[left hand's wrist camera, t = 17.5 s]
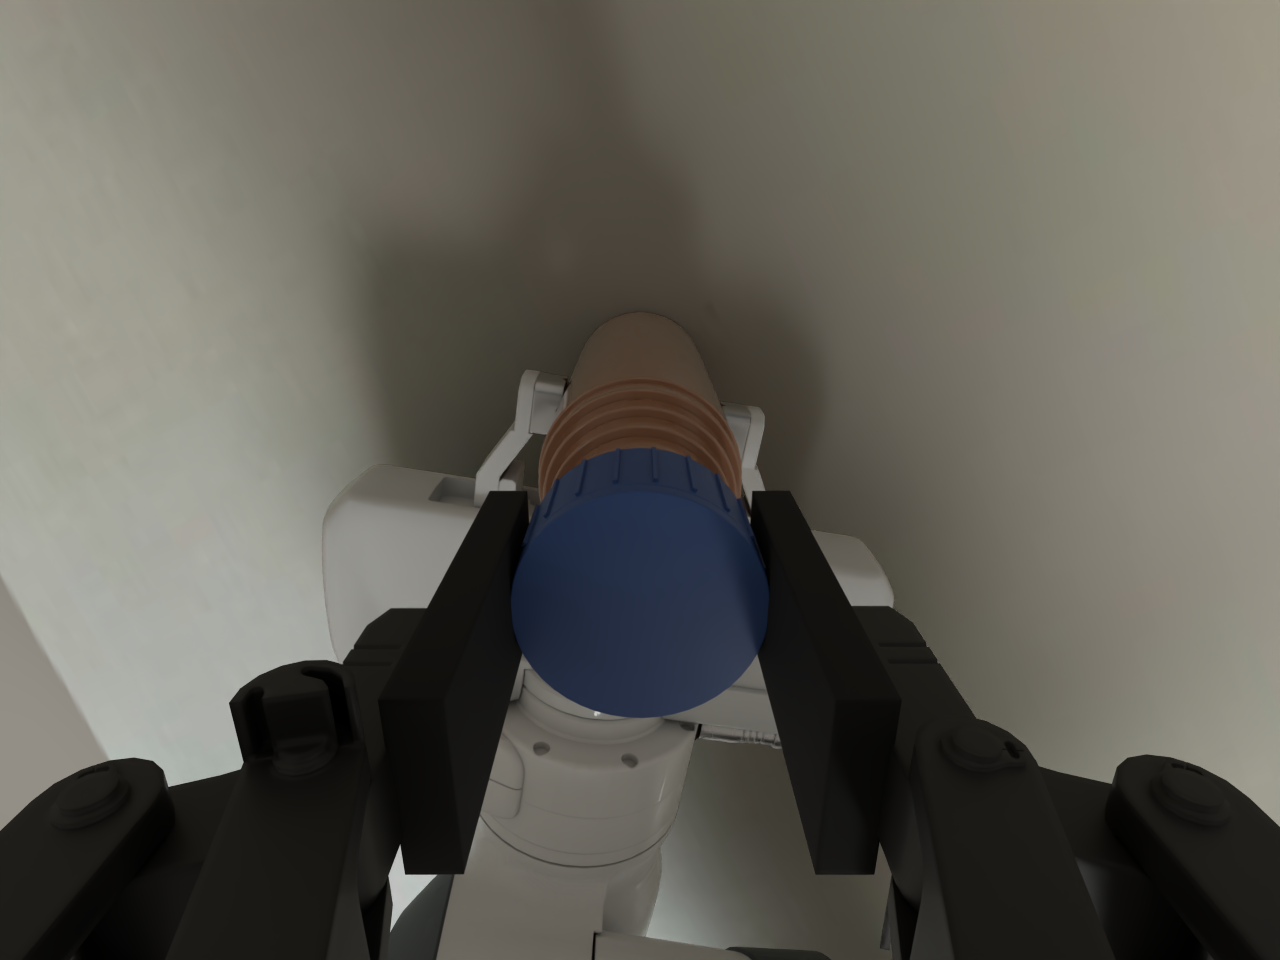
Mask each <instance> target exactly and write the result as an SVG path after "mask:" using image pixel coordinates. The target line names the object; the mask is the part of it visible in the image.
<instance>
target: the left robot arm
mask: <svg viewBox="0 0 1280 960" xmlns="http://www.w3.org/2000/svg"><path fill="white" fill-rule="evenodd" d="M528 526H529V510H528V493H527V491H489V493H488V495H487V497H486V499H485V501H484V503H483V505H482V506H481V508H480V510H479V512H478V514H477V516H476V518H475V519H474V521H473V523H472V525H471V527H470V529H469V531H468V532H467V534H466V536H465V538H464V540H463V542H462V544H461V545H460V547H459V549H458V551H457V553H456V555H455V557H454V559H453V560H452V562H451V564H450V566H449V568H448V570H447V572H446V573H445V575H444V577H443V579H442V581H441V583H440V585H439V586H438V588H437V590H436V592H435V594H434V596H433V598H432V599H431V601H430V603H429V605H428V607H427V608H390V609H389V610H388V611H386V612H385V613H383V614H382V615H381V616H379V617H378V618H376V619H375V620H374V621H372V622H371V623H369V624H368V625H367V626H366V627H365V629H364V630H363V632H362V634H361V635H360V637H359V638H358V640H357V641H356V643H355V644H354V649H351V650H350V652H349V653H348V655H347V656H346V658H345V659H344V661H343V664H339V663H336V662H332V661H328V660H310V661H301V662H297V663H292V664H288V665H283V666H280V667H278V668H275V669H273V670H271V671H268V672H266V673H264V674H261V675H259V676H258V677H256V678H255V679H253V680H252V681H250V682H249V683H248V684H246V685H245V686H243V687H242V688H240V690H239V691H238V692H237V693H236V695H235V696H234V697H233V699H232V700H231V701H230V702H229V705H230V709H231V713H232V717H233V721H234V725H235V729H236V733H237V737H238V741H239V745H240V749H241V753H242V757H243V761H244V763H243V765H242V768H241V769H240V770H237V771H233V772H230V773H227V774H223V775H220V776H215V777H211V778H206V779H202V780H198V781H193V782H189V783H184V784H180V785H175V786H171V787H168V784H167V781H166V778H165V774H164V771H163V770H162V769H161V768H160V767H159V766H158V765H157V764H156V763H154V762H153V761H150V760H145V759H139V758H127V759H119V760H110V761H107V762H103V763H101V764H97V765H94V766H91V767H88V768H85V769H82V770H80V771H78V772H76V773H74V774H72V775H70V776H68V777H66V778H64V779H62V780H61V781H59V782H57V783H55V784H53V785H52V786H51V787H49V788H48V789H47V790H46V791H44V792H43V793H42V794H40V795H39V796H38V797H36V798H35V799H34V800H32V801H31V802H30V803H29V804H28V805H27V806H26V807H25V808H24V809H23V810H22V811H21V812H20V813H19V814H18V815H17V816H15V817H14V818H13V819H12V820H11V821H10V822H9V823H8V824H7V825H6V826H5V827H4V828H3V829H2V830H1V831H0V960H387V956H388V946H389V936H390V927H391V917H392V907H393V903H392V896H391V889H390V883H389V877H388V875H389V872H390V870H391V867H392V864H393V862H394V859H395V856H396V854H397V851H398V848H399V846H400V845H401V851H402V857H403V864H404V870H405V875H443V874H464V872H465V869H466V865H467V861H468V857H469V854H470V850H471V846H472V842H473V838H474V835H475V831H476V827H477V823H478V820H479V816H480V812H481V808H482V805H483V801H484V797H485V793H486V789H487V786H488V782H489V778H490V774H491V771H492V767H493V763H494V759H495V755H496V752H497V748H498V744H499V740H500V737H501V733H502V729H503V725H504V721H505V718H506V714H507V710H508V706H509V703H510V699H511V695H512V691H513V688H514V684H515V680H516V676H517V672H518V669H519V665H520V661H521V657H522V654H523V653H522V651H521V649H520V647H519V645H518V643H517V640H516V637H515V634H514V631H513V624H512V612H511V586H512V581H513V578H514V574H515V571H516V567H517V565H518V562H519V559H520V556H521V553H522V550H523V546H521V545H522V543H523V540H524V537H525V534H526V531H527V528H528ZM750 526H751V527H752V530H753V533H754V535H755V538H756V541H757V544H758V547H759V549H760V552H761V555H762V558H763V561H764V564H765V566H766V572H765V573H766V576H767V579H768V584H769V605H768V619H767V631H766V635H765V639H764V641H763V643H762V645H761V648H760V650H759V652H758V654H757V655H758V659H759V663H760V667H761V670H762V674H763V678H764V682H765V686H766V689H767V693H768V697H769V701H770V704H771V708H772V712H773V716H774V719H775V723H776V727H777V731H778V735H779V738H780V742H781V746H782V750H783V753H784V757H785V761H786V765H787V769H788V772H789V776H790V780H791V784H792V787H793V791H794V795H795V799H796V803H797V806H798V810H799V814H800V818H801V821H802V825H803V829H804V833H805V837H806V840H807V844H808V848H809V852H810V855H811V859H812V863H813V867H814V870H815V874H816V875H874V873H875V867H876V861H877V854H878V848H879V842H880V844H881V846H882V849H883V851H884V854H885V857H886V859H887V862H888V865H889V867H890V870H891V872H892V877H891V883H890V889H889V895H888V901H887V907H886V913H885V918H884V924H883V930H882V937H881V944H880V948H881V949H886V950H889V949H890V943H891V945H892V955H893V960H1280V827H1279V826H1278V825H1277V824H1276V823H1275V822H1274V821H1273V820H1272V819H1271V818H1270V817H1269V816H1268V815H1267V814H1266V813H1264V812H1263V811H1262V810H1261V809H1260V808H1259V807H1258V806H1257V805H1256V804H1255V803H1254V802H1253V801H1252V800H1251V799H1250V798H1249V797H1247V796H1246V795H1245V794H1243V793H1242V792H1241V791H1239V790H1238V789H1237V788H1235V787H1234V786H1233V785H1231V784H1230V783H1229V782H1228V781H1226V780H1224V779H1222V778H1220V777H1218V776H1217V775H1215V774H1213V773H1211V772H1209V771H1207V770H1205V769H1203V768H1201V767H1199V766H1196V765H1193V764H1190V763H1188V762H1184V761H1181V760H1177V759H1174V758H1171V757H1163V756H1155V755H1141V756H1135V757H1129V758H1127V759H1126V760H1125V761H1123V762H1122V763H1121V764H1120V765H1119V766H1118V767H1117V769H1116V772H1115V776H1114V779H1113V782H1112V784H1109V783H1105V782H1100V781H1096V780H1091V779H1087V778H1082V777H1078V776H1073V775H1069V774H1064V773H1060V772H1056V771H1053V770H1050V769H1046V768H1043V767H1039V766H1038V764H1037V762H1036V760H1035V759H1034V757H1033V756H1032V754H1031V753H1030V751H1029V750H1028V748H1027V747H1026V746H1025V745H1024V744H1023V743H1022V742H1020V741H1019V740H1018V739H1017V738H1015V737H1014V736H1013V735H1012V734H1010V733H1009V732H1008V731H1006V730H1004V729H1001V728H999V727H997V726H995V725H993V724H991V723H989V722H987V721H983V720H979V719H976V717H975V716H974V714H973V713H972V711H971V710H970V708H969V707H968V705H967V704H966V702H965V701H964V699H963V698H962V696H961V695H960V693H959V692H958V690H957V689H956V687H955V686H954V684H953V683H952V681H951V680H950V678H949V677H948V675H947V674H946V672H945V671H944V669H943V668H942V666H941V665H940V664H938V663H937V659H936V657H935V656H934V654H933V652H932V651H931V649H930V648H929V647H926V642H925V640H924V639H923V637H922V636H921V634H920V633H919V631H918V630H917V628H916V627H915V625H914V624H913V623H912V622H911V621H909V620H908V619H907V618H905V617H904V616H902V615H901V614H900V613H898V612H897V611H895V610H894V609H893V608H891V607H890V606H851V604H850V602H849V600H848V599H847V597H846V595H845V593H844V591H843V589H842V587H841V586H840V584H839V582H838V580H837V578H836V576H835V574H834V573H833V571H832V569H831V567H830V565H829V563H828V561H827V559H826V558H825V556H824V554H823V552H822V550H821V548H820V546H819V545H818V543H817V541H816V539H815V537H814V535H813V533H812V532H811V530H810V528H809V526H808V524H807V522H806V520H805V519H804V517H803V515H802V513H801V511H800V509H799V507H798V505H797V504H796V502H795V500H794V498H793V496H792V494H791V492H790V491H752V501H751V518H750Z"/></svg>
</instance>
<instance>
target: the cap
mask: <svg viewBox="0 0 1280 960" xmlns="http://www.w3.org/2000/svg"><path fill="white" fill-rule="evenodd" d="M521 546H523V550H522V553H521V556H520V559H519V562H518V565H517V567H516V571H515V574H514V578H513V581H512V586H511V612H512V624H513V631H514V634H515V637H516V640H517V643H518V645H519V647H520V649H521V651H522V653H523V655H524V657H525V658H526V660H527V661H528V662H529V664H530V665H531V667H532V668H533V670H534V671H535V672H536V673H537V674H538V675H539V676H540V677H541V679H542V680H543V681H545V682H546V683H547V684H548V685H549V686H550V687H551V688H553V689H554V690H555V691H557V692H558V693H560V694H561V695H563V696H564V697H566V698H567V699H569V700H571V701H573V702H575V703H577V704H579V705H581V706H583V707H586V708H588V709H591V710H594V711H597V712H600V713H604V714H608V715H613V716H620V717H627V718H651V717H661V716H667V715H672V714H676V713H680V712H683V711H687V710H690V709H692V708H695V707H697V706H699V705H702V704H704V703H706V702H708V701H709V700H711V699H713V698H715V697H717V696H718V695H719V694H721V693H722V692H724V691H725V690H726V689H728V688H729V687H730V686H731V685H732V684H733V683H735V682H736V681H737V680H738V679H739V678H740V677H741V676H742V675H743V673H744V672H745V671H746V670H747V669H748V667H749V666H750V665H751V663H752V662H753V660H754V659H755V657H756V655H757V654H758V652H759V650H760V648H761V645H762V643H763V641H764V639H765V635H766V631H767V619H768V605H769V584H768V579H767V576H766V573H765V572H766V566H765V564H764V561H763V558H762V555H761V552H760V549H759V547H758V544H757V541H756V538H755V535H754V533H753V530H752V527H751V526H750V523H749V520H748V517H747V514H746V511H745V509H744V506H743V503H742V500H741V499H740V498H738V499H737V498H736V496H735V495H734V493H733V492H732V491H731V489H730V488H729V487H728V486H727V485H726V484H725V483H724V482H723V481H722V479H721V476H720V475H719V474H718V473H717V474H714V473H713V472H712V471H711V470H709V469H708V468H706V467H705V466H703V465H701V464H700V463H698V462H696V461H694V460H692V459H691V457H690V456H688V455H687V456H686V457H685V456H683V455H680V454H676V453H673V452H670V451H665V450H659V449H656V447H652V448H630V449H621V450H620V448H616V451H611V452H607V453H604V454H601V455H598V456H595V457H593V458H591V459H588V460H586V459H584V460H582V463H580V464H579V465H577V466H576V467H574V468H573V469H571V470H570V471H568V472H567V473H566V474H565V475H564V476H562V477H561V478H560V479H558V478H556V479H555V480H554V483H553V486H552V488H551V489H550V490H549V491H548V492H547V494H546V495H545V497H544V498H543V500H542V501H541V503H540V505H537V504H536V506H535V509H534V512H533V514H532V517H531V520H530V523H529V526H528V528H527V531H526V534H525V537H524V540H523V543H522V545H521Z"/></svg>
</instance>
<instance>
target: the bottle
mask: <svg viewBox="0 0 1280 960" xmlns="http://www.w3.org/2000/svg"><path fill="white" fill-rule="evenodd" d="M652 447H656V449H659V450H665V451H670V452H673V453H676V454H680V455H683V456H685V457H686V456H687V455H688V456H690V457H691V459H692V460H694V461H696V462H698V463H700V464H701V465H703V466H705V467H706V468H708V469H709V470H711V471H712V472H713V473H714V474H717V473H718V474H719V475H720V476H721V479H722V481H723V482H724V483H725V484H726V485H727V486H728V487H729V488H730V489H731V491H732V492H733V493H734V495H735V496H736V498H737V499H738V498H741V490H742V467H741V457H740V453H739V448H738V445H737V442H736V440H735V437H734V434H733V432H732V430H731V427H730V425H729V423H728V420H727V418H726V415H725V413H724V411H723V408H722V406H721V404H720V401H719V399H718V396H717V394H716V392H715V389H714V387H713V385H712V382H711V380H710V377H709V375H708V373H707V370H706V368H705V366H704V363H703V361H702V358H701V356H700V354H699V351H698V349H697V347H696V345H695V343H694V341H693V340H692V339H691V337H690V336H689V335H688V333H687V332H686V331H685V330H684V329H683V328H681V327H680V326H679V325H678V324H676V323H675V322H673V321H671V320H670V319H668V318H666V317H663V316H661V315H657V314H653V313H647V312H633V313H627V314H623V315H619V316H617V317H615V318H612V319H610V320H609V321H607V322H605V323H604V324H602V325H601V326H600V327H599V328H597V330H596V331H595V332H594V333H593V334H592V335H591V336H590V337H589V339H588V340H587V342H586V344H585V345H584V347H583V349H582V352H581V354H580V356H579V359H578V361H577V364H576V366H575V368H574V371H573V373H572V376H571V378H570V380H569V383H568V385H567V387H566V390H565V392H564V395H563V397H562V399H561V402H560V404H559V407H558V409H557V411H556V414H555V416H554V418H553V421H552V423H551V426H550V428H549V430H548V433H547V435H546V438H545V440H544V443H543V446H542V450H541V454H540V459H539V470H538V472H539V480H538V485H539V497H540V502H541V501H542V500H543V498H544V497H545V495H546V494H547V492H548V491H549V490H550V489H551V488H552V486H553V483H554V480H555V479H556V478H558V479H560V478H561V477H562V476H564V475H565V474H566V473H567V472H568V471H570V470H571V469H573V468H574V467H576V466H577V465H579V464H580V463H582V460H584V459H586V460H588V459H591V458H593V457H595V456H598V455H601V454H604V453H607V452H611V451H616V448H620V450H621V449H630V448H652Z"/></svg>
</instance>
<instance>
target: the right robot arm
mask: <svg viewBox="0 0 1280 960" xmlns="http://www.w3.org/2000/svg"><path fill="white" fill-rule="evenodd" d="M567 385H568V377H567V376H562V375H556V374H551V373H545V372H540V371H534V370H526V371H525V372H524V373H523V375H522V377H521V381H520V386H519V390H518V399H517V409H516V418H515V421H514V423H513V424H512V425H511V426H510V428H509V429H508V430H507V432H506V433H505V434H504V435H503V437H502V438H501V439H500V440H499V442H498V443H497V444H496V446H495V447H494V448H493V449H492V451H491V452H490V453H489V455H488V456H487V458H486V459H485V461H484V463H483V464H482V466H481V467H480V469H479V470H478V472H477V474H476V478H470V477H463V476H457V475H450V474H444V473H437V472H431V471H424V470H418V469H411V468H405V467H399V466H392V465H385V464H379V465H375V466H372V467H371V468H369V469H368V470H366V471H365V472H364V473H362V474H361V475H360V476H358V477H357V478H356V479H355V480H353V481H352V482H351V483H350V484H348V485H347V486H346V487H345V488H344V489H343V490H342V491H341V492H340V493H339V495H338V496H337V497H336V498H335V499H334V500H333V501H332V503H331V504H330V506H329V507H328V509H327V512H326V514H325V517H324V521H323V529H322V566H323V583H324V594H325V604H326V612H327V619H328V626H329V632H330V638H331V642H332V646H333V649H334V652H335V655H336V657H337V660H338V662H339V663H340V664H343V661H344V659H345V658H346V656H347V655H348V653H349V652H350V650H351V649H354V644H355V643H356V641H357V640H358V638H359V637H360V635H361V634H362V632H363V630H364V629H365V627H366V626H367V625H368V624H369V623H371V622H372V621H374V620H375V619H376V618H378V617H379V616H381V615H382V614H383V613H385V612H386V611H388V610H389V609H390V608H427V607H428V605H429V603H430V601H431V599H432V598H433V596H434V594H435V592H436V590H437V588H438V586H439V585H440V583H441V581H442V579H443V577H444V575H445V573H446V572H447V570H448V568H449V566H450V564H451V562H452V560H453V559H454V557H455V555H456V553H457V551H458V549H459V547H460V545H461V544H462V542H463V540H464V538H465V536H466V534H467V532H468V531H469V529H470V527H471V525H472V523H473V521H474V519H475V518H476V516H477V514H478V512H479V510H480V508H481V506H482V505H483V503H484V501H485V499H486V497H487V495H488V493H489V491H527V493H528V510H529V523H530V520H531V517H532V514H533V512H534V509H535V506H536V504H537V505H540V503H541V502H540V497H539V488H535V487H528V486H523V482H524V472H525V463H524V461H523V460H517V459H514V458H515V457H516V455H517V454H518V453H519V452H520V450H521V449H522V448H523V447H524V445H525V444H526V443H527V441H528V440H529V439H530V438H531V436H532V435H533V433H535V434H543V435H547V433H548V430H549V428H550V426H551V423H552V421H553V418H554V416H555V414H556V411H557V409H558V407H559V404H560V402H561V399H562V397H563V395H564V392H565V390H566V387H567ZM720 404H721V406H722V408H723V411H724V413H725V415H726V418H727V420H728V423H729V425H730V427H731V430H732V432H733V434H734V437H735V440H736V442H737V445H738V448H739V453H740V457H741V467H742V487H743V490H744V492H745V496H744V497H743V496H742V495H741V498H740V499H741V500H742V503H743V506H744V509H745V511H746V514H747V517H748V520H749V523H750V518H751V501H752V491H765V488H764V485H763V482H762V479H761V476H760V473H759V470H758V467H757V465H756V461H757V457H758V453H759V449H760V444H761V440H762V436H763V432H764V426H765V415H764V413H763V412H762V410H761V409H760V407H755V406H748V405H742V404H736V403H729V402H722V401H720ZM811 532H812V533H813V535H814V537H815V539H816V541H817V543H818V545H819V546H820V548H821V550H822V552H823V554H824V556H825V558H826V559H827V561H828V563H829V565H830V567H831V569H832V571H833V573H834V574H835V576H836V578H837V580H838V582H839V584H840V586H841V587H842V589H843V591H844V593H845V595H846V597H847V599H848V600H849V602H850V604H851V606H890V607H891V608H893V604H894V595H893V591H892V587H891V585H890V583H889V580H888V578H887V576H886V575H885V573H884V571H883V569H882V567H881V566H880V564H879V563H878V561H877V560H876V558H875V557H874V556H873V554H872V553H871V552H870V551H869V549H868V548H867V547H866V545H865V544H864V543H863V542H862V541H861V540H859V539H858V538H856V537H852V536H848V535H841V534H835V533H828V532H821V531H815V530H811ZM696 738H698V739H706V740H713V741H721V742H728V743H754V744H761V745H769V746H770V747H771V748H775V749H780V750H782V746H781V742H780V738H779V735H778V731H777V727H776V723H775V719H774V716H773V712H772V708H771V704H770V701H769V697H768V693H767V689H766V686H765V682H764V678H763V674H762V670H761V667H760V663H759V659H758V655H756V657H755V659H754V660H753V662H752V663H751V665H750V666H749V667H748V669H747V670H746V671H745V672H744V673H743V675H742V676H741V677H740V678H739V679H738V680H737V681H736V682H735V683H733V684H732V685H731V686H730V687H729V688H728V689H726V690H725V691H724V692H722V693H721V694H719V695H718V696H717V697H715V698H713V699H711V700H709V701H708V702H706V703H704V704H702V705H699V706H697V707H695V708H692V709H690V710H687V711H683V712H680V713H676V714H672V715H667V716H661V717H651V718H627V717H620V716H613V715H608V714H604V713H600V712H597V711H594V710H591V709H588V708H586V707H583V706H581V705H579V704H577V703H575V702H573V701H571V700H569V699H567V698H566V697H564V696H563V695H561V694H560V693H558V692H557V691H555V690H554V689H553V688H551V687H550V686H549V685H548V684H547V683H546V682H545V681H543V680H542V679H541V677H540V676H539V675H538V674H537V673H536V672H535V671H534V670H533V668H532V667H531V665H530V664H529V662H528V661H527V660H526V658H525V657H524V655H523V654H522V657H521V661H520V665H519V669H518V672H517V676H516V680H515V684H514V688H513V691H512V695H511V699H510V703H509V706H508V710H507V714H506V718H505V721H504V725H503V729H502V733H501V737H500V740H499V744H498V748H497V752H496V755H495V759H494V763H493V767H492V771H491V774H490V778H489V782H488V786H487V789H486V793H485V797H484V801H483V805H482V808H481V812H480V816H479V820H478V823H477V827H476V831H475V835H474V838H473V842H472V846H471V850H470V854H469V857H468V861H467V865H466V869H465V872H464V874H443V875H437V876H436V877H435V878H434V879H433V880H432V881H431V882H430V883H429V884H428V885H427V886H426V887H425V888H424V889H423V890H422V891H421V892H420V893H419V894H418V895H417V897H416V898H415V899H414V900H413V901H412V902H411V903H410V904H409V905H408V906H407V907H406V908H405V910H404V911H403V912H402V914H401V915H400V917H399V918H398V920H397V922H396V923H395V925H394V927H393V929H392V930H391V932H390V936H389V946H388V956H387V960H830V959H829V958H828V957H827V956H825V955H824V954H822V953H820V952H817V951H806V950H787V949H769V948H750V947H729V948H727V949H725V950H724V949H718V948H711V947H705V946H699V945H692V944H686V943H680V942H674V941H667V940H661V939H655V938H648V937H645V936H646V933H647V930H648V927H649V923H650V920H651V917H652V913H653V910H654V906H655V902H656V898H657V895H658V891H659V886H660V879H661V872H662V857H661V849H660V846H661V845H662V843H663V842H664V840H665V839H666V837H667V836H668V834H669V832H670V830H671V828H672V826H673V823H674V821H675V818H676V814H677V811H678V807H679V802H680V798H681V794H682V790H683V786H684V782H685V778H686V773H687V769H688V765H689V762H690V757H691V753H692V748H693V744H694V740H696Z"/></svg>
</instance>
